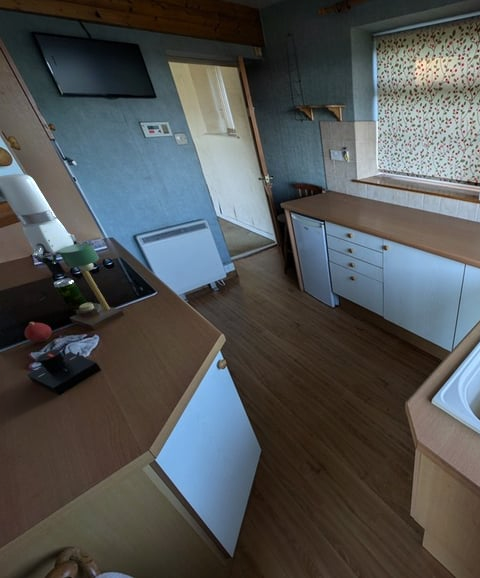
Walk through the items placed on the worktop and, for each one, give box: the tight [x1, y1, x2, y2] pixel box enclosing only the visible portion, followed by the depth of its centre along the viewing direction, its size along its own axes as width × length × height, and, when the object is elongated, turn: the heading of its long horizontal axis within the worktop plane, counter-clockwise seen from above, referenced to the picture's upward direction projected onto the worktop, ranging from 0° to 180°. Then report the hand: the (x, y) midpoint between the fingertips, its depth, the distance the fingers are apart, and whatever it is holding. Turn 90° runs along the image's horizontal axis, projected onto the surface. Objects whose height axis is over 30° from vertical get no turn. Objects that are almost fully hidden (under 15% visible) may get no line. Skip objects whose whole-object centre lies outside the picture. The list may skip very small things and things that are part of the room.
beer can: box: [53, 277, 88, 312], centre depth 113 cm, size 5×5×12 cm
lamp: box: [58, 242, 110, 311], centre depth 101 cm, size 8×8×25 cm
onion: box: [24, 321, 53, 343], centre depth 97 cm, size 6×6×8 cm
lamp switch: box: [80, 301, 94, 311], centre depth 109 cm, size 4×4×2 cm
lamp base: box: [69, 302, 125, 331], centre depth 109 cm, size 13×10×4 cm
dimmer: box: [26, 351, 102, 396], centre depth 85 cm, size 13×10×3 cm
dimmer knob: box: [37, 349, 68, 372], centre depth 83 cm, size 4×4×5 cm
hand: (69, 267), depth 98 cm, fingers open, 9 cm apart
